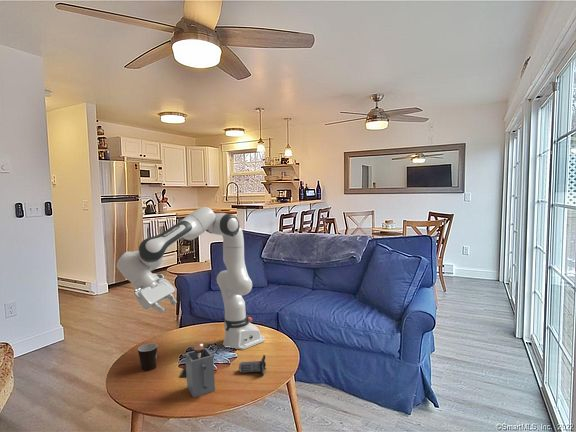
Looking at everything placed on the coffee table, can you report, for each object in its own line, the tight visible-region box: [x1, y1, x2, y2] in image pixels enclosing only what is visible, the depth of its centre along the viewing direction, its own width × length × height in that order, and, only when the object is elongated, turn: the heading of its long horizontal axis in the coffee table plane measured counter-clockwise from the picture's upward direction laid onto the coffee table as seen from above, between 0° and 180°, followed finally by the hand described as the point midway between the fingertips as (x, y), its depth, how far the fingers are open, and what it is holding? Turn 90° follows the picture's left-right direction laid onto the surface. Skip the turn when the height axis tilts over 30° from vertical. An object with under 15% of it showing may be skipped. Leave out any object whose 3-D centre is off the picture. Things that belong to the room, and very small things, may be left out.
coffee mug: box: [137, 342, 158, 372], centre depth 170 cm, size 12×9×10 cm
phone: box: [180, 364, 187, 379], centre depth 166 cm, size 8×1×15 cm
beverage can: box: [238, 354, 267, 377], centre depth 161 cm, size 9×8×12 cm
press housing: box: [184, 347, 216, 398], centre depth 148 cm, size 9×12×15 cm
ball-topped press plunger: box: [193, 341, 204, 359], centre depth 148 cm, size 6×6×14 cm
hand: (169, 307), depth 149 cm, fingers open, 8 cm apart
